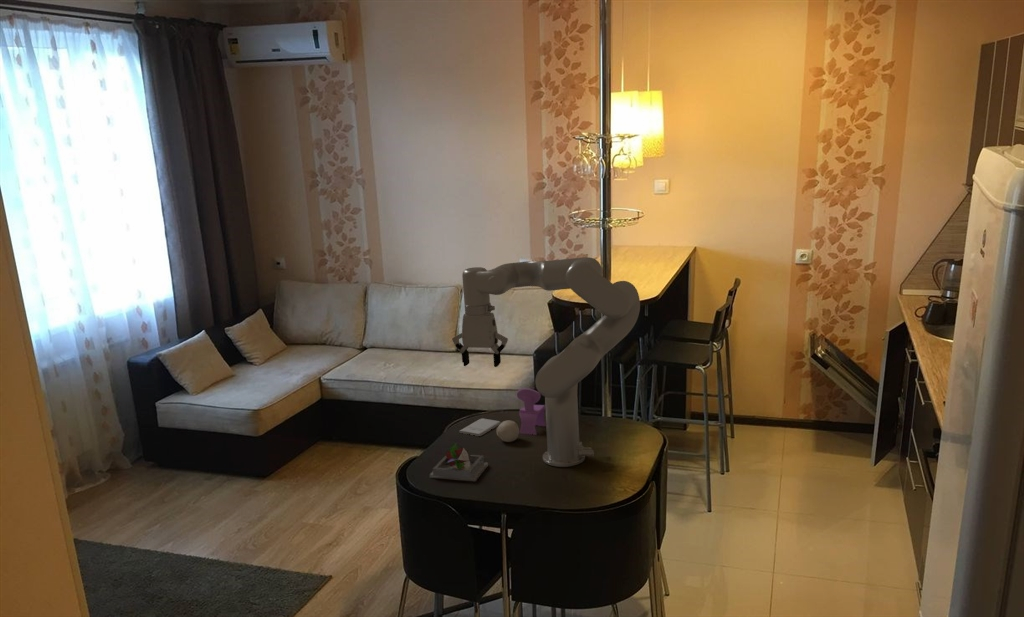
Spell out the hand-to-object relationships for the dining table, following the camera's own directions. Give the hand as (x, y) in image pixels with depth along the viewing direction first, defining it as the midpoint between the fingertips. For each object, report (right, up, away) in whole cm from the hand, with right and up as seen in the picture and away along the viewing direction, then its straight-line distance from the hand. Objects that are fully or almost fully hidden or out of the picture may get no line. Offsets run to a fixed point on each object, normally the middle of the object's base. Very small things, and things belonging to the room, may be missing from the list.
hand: (481, 365), depth 234 cm
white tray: (-6, -31, -6) cm, 32 cm away
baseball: (+8, -25, +15) cm, 31 cm away
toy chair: (+16, -23, +24) cm, 37 cm away
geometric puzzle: (-7, -30, -6) cm, 31 cm away
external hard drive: (-2, -24, +28) cm, 37 cm away
